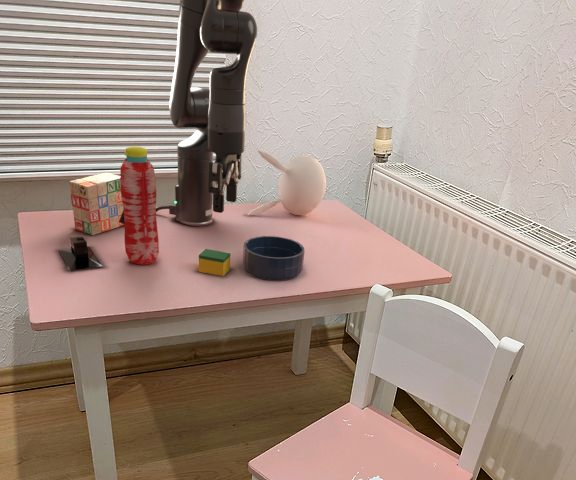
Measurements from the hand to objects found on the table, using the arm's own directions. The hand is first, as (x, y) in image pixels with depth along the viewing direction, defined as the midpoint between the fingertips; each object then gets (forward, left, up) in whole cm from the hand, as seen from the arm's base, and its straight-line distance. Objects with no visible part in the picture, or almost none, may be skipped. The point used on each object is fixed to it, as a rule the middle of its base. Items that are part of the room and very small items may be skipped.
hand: (224, 206), depth 126 cm
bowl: (+10, +6, -15) cm, 19 cm away
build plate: (-31, -9, -15) cm, 36 cm away
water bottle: (-20, -2, -15) cm, 25 cm away
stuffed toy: (+3, +47, -15) cm, 50 cm away
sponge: (-2, -1, -15) cm, 15 cm away
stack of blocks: (-37, +17, -15) cm, 43 cm away
